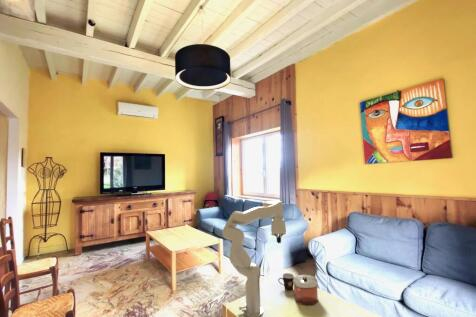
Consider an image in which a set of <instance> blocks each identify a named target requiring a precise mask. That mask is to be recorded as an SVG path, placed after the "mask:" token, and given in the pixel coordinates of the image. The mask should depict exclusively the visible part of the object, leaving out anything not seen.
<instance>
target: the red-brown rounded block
mask: <svg viewBox="0 0 476 317" xmlns="http://www.w3.org/2000/svg"><path fill="white" fill-rule="evenodd" d="M293 291H294V292H293V293H294V301H295V302H296V303H298V304H300V305H303V306H314V305H316V304H317V303H318V302H319V298H318V285H317V286H315V287H313V288H300V287H297V286H295V285H294V284H293Z"/></svg>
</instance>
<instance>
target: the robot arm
mask: <svg viewBox="0 0 476 317" xmlns="http://www.w3.org/2000/svg"><path fill="white" fill-rule="evenodd" d="M267 218H270V219H271V226H270V229H271V230H270V231H271V235H272V236H274V237H276V242H277V243H278V244H281V243H282V237H283V236H284V235H286V232H287V228H286V222H285V219H284V211H283V202H282V201H281V200H274V201H265V202H264V203H262V206H256V207H252V208H250V209H247V210H245V211H238V210H235V211H233V212H232V213H231V215H229V218H228V219H227V221H226V222H225V225H224V227H223V229H222V233H221V234H222V236H223V238H224V239H225V240H228V241H231V245H230V249H229V251H230V253H229V261H230V264H231V265H232V266H233V267H234V269H235V270H236V271H237V272H238V273H239V274H240V275H242V276H243V277H246V281H245V284H244V286H245V303H244V305H242V306H238V309H239V311H241V312H243V313H245V314H244V315H245V316H246V315H247V316H246V317H248V316H249V317H262V315H263V314H264V309H263V308H262V306H261V289H260V288H261V286H260V283H261V282H260V279H261V272H262V271H261V268H260V266H259V265H258V264H256V263H254V262H252V258H251V256H250V255H249V253H248V252H247V250H246V249H245V248H244V240H245V234H244V231H243V230H242V229H240V228H238V227H237V226H238V225H240V226H247V225H249V224H251V223H254V222H256V221H258V220H262V219H267Z"/></svg>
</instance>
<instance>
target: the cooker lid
mask: <svg viewBox="0 0 476 317" xmlns="http://www.w3.org/2000/svg"><path fill="white" fill-rule="evenodd" d="M318 282H319V281H318V279H317V278H316V277H315V276H313V275H309V274H299V275H295V276H294V278H293V286H294V285H295V286H297V287H300V288H313V287H315V286H317V287H318V284H319V283H318Z"/></svg>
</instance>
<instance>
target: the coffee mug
mask: <svg viewBox="0 0 476 317" xmlns="http://www.w3.org/2000/svg"><path fill="white" fill-rule="evenodd" d="M294 277H295V275H294V274H292V273H290V272H289V273H287V272H286V273H283V274H282V277H279V278H278V283H279V284H280V285H282V286H284V289H285V291H288V292H291V291H294V284H293V278H294ZM280 279H281V280H282V281H283V283H282V282H281V281H280Z"/></svg>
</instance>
